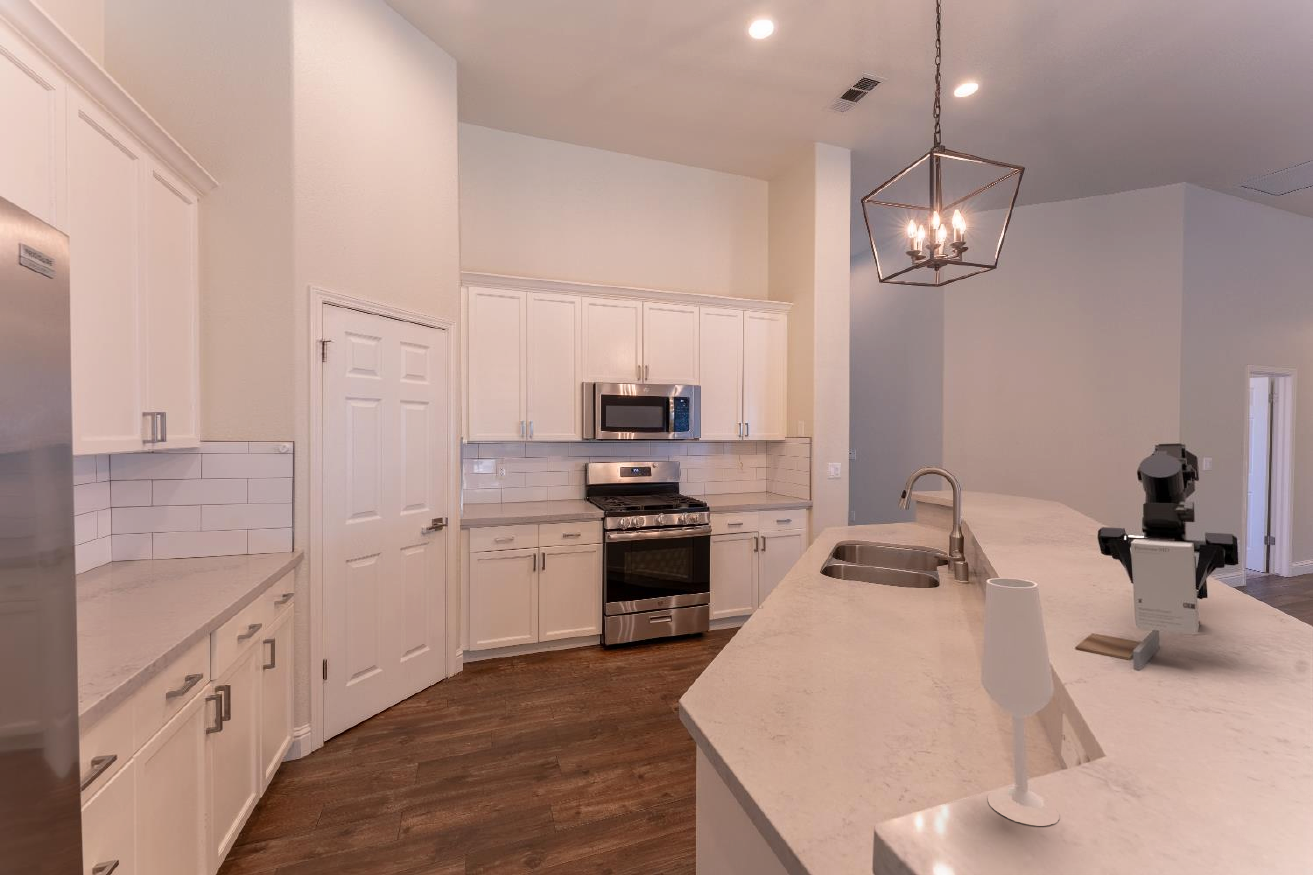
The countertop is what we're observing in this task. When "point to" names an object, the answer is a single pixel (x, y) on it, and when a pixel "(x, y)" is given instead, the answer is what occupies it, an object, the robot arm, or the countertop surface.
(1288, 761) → the countertop surface
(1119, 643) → the walnut board
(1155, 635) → the low wall
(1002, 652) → the champagne flute
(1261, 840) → the countertop surface
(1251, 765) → the countertop surface
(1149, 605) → the skincare box
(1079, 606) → the countertop surface
